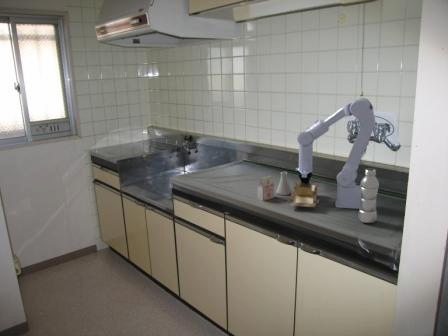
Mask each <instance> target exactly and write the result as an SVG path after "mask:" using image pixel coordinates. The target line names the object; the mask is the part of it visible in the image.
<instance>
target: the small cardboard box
mask: <svg viewBox="0 0 448 336" xmlns="http://www.w3.org/2000/svg"><path fill="white" fill-rule="evenodd" d="M297 184H298V181H294V183H293V186H292V189H291V191H292V193H291V194H290V198H289V206H291V207H292V206H293V207H305V208H306V207H307V208H316V207H317V205H316V199H317V196H318V182H315V183H314V184H312V194H311V197H308V196H297Z"/></svg>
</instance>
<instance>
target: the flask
mask: <svg viewBox="0 0 448 336" xmlns="http://www.w3.org/2000/svg"><path fill="white" fill-rule="evenodd" d="M289 183H290V182H289V180H288V172H287V171H281V172H280V179H279V184H278V185H277V189H276V191H275V194H277V195H280V196H289V195H291V194H292V189H291V186H290V184H289Z"/></svg>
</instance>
